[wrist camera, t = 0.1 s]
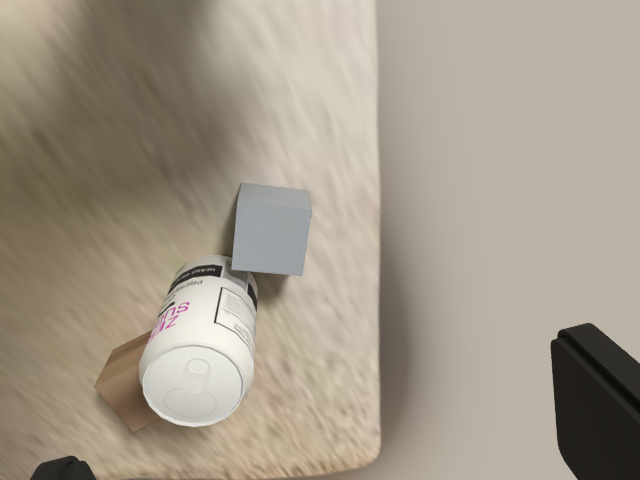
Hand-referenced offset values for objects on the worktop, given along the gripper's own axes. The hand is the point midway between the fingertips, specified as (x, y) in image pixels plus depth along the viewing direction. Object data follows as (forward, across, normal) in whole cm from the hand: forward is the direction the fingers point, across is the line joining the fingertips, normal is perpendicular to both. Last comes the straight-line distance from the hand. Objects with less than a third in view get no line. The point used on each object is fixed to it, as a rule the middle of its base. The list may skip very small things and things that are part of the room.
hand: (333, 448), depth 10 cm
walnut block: (+37, +18, +18) cm, 45 cm away
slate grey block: (+37, +3, +7) cm, 38 cm away
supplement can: (+37, +10, +12) cm, 40 cm away
